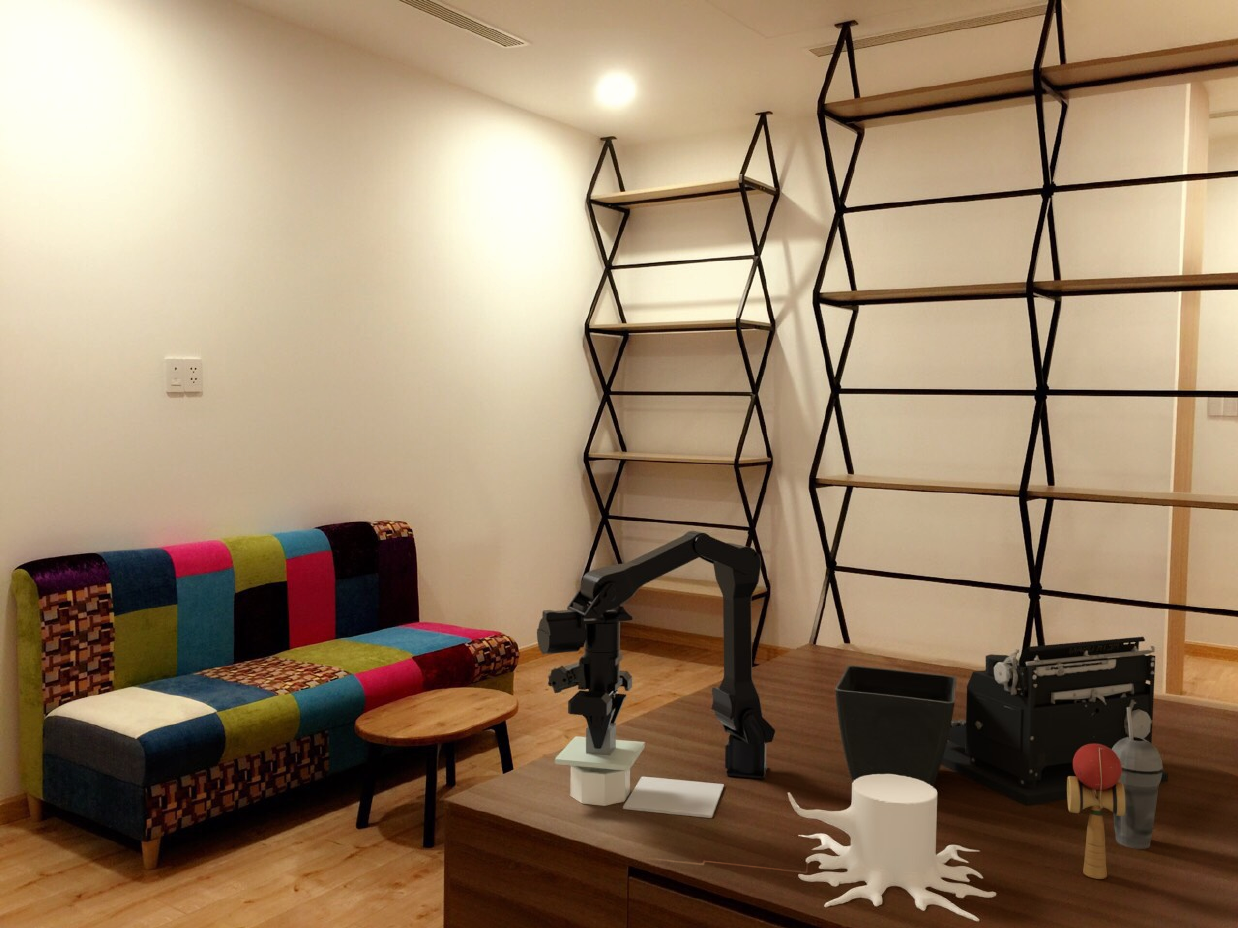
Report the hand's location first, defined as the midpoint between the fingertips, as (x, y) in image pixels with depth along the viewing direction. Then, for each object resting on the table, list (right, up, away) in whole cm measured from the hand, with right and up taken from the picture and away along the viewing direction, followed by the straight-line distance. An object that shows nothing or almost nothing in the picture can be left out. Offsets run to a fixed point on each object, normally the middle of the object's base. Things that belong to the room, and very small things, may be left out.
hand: (601, 744), depth 165 cm
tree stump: (+40, -11, -24) cm, 48 cm away
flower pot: (+50, -9, +10) cm, 52 cm away
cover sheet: (0, -2, 0) cm, 2 cm away
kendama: (+67, -11, -27) cm, 73 cm away
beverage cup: (+78, -10, -16) cm, 80 cm away
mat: (+12, -9, 0) cm, 15 cm away
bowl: (0, -8, 0) cm, 8 cm away
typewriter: (+77, -9, +16) cm, 79 cm away
